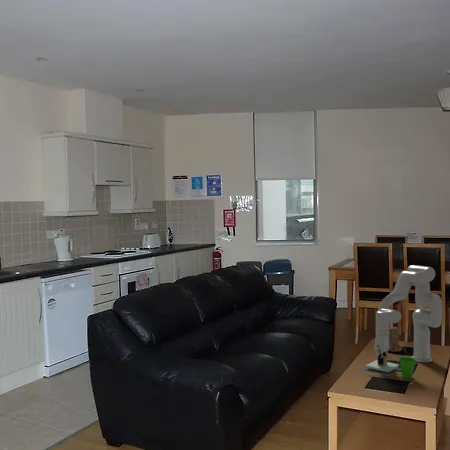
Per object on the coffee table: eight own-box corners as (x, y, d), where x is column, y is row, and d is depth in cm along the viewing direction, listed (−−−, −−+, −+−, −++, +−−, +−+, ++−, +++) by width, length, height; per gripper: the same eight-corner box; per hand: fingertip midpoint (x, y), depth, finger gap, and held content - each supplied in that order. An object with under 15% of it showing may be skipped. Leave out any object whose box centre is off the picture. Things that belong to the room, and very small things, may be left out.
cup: (416, 381, 288) (417, 361, 288) (399, 380, 290) (399, 360, 290) (414, 376, 297) (414, 357, 297) (397, 375, 299) (397, 356, 298)
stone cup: (385, 345, 364) (385, 324, 364) (403, 347, 359) (403, 326, 359) (382, 351, 350) (382, 328, 350) (401, 353, 345) (401, 330, 345)
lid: (376, 361, 318) (376, 351, 318) (399, 366, 308) (399, 356, 308) (365, 367, 308) (365, 356, 307) (388, 372, 298) (388, 361, 298)
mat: (374, 364, 321) (374, 363, 320) (403, 370, 308) (403, 369, 308) (360, 370, 307) (360, 369, 307) (389, 377, 295) (389, 376, 295)
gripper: (383, 328, 316) (382, 358, 317) (369, 333, 304) (369, 365, 304) (394, 330, 311) (394, 361, 312) (381, 336, 299) (381, 368, 299)
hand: (382, 363), depth 308 cm, fingers closed on lid, 4 cm apart
